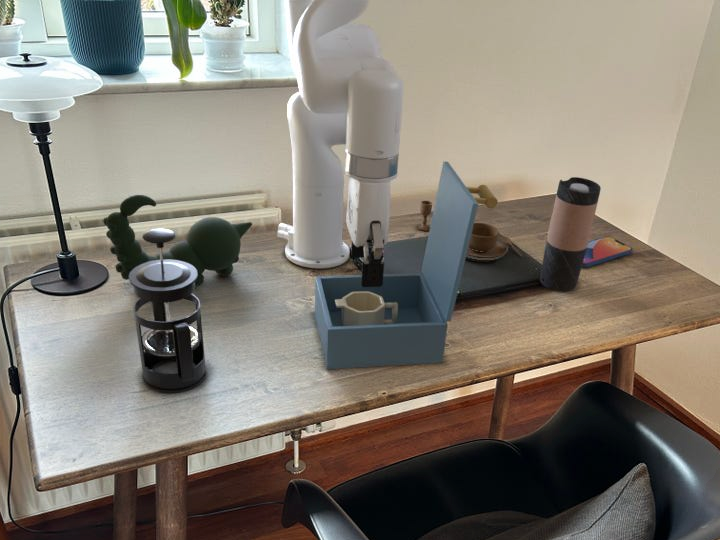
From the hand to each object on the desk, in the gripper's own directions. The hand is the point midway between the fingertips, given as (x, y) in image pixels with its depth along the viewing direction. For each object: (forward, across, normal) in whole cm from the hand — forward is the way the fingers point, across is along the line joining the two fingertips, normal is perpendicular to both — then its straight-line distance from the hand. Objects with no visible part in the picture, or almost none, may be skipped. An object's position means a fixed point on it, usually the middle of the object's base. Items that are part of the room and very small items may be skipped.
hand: (366, 271), depth 115 cm
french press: (+13, +7, -29) cm, 33 cm away
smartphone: (+12, -28, +55) cm, 63 cm away
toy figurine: (+12, -22, -28) cm, 38 cm away
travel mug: (+13, -17, +41) cm, 46 cm away
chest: (+13, -1, +2) cm, 13 cm away
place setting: (+12, -35, +28) cm, 47 cm away
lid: (-5, 0, +12) cm, 13 cm away
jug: (+12, -1, 0) cm, 12 cm away
